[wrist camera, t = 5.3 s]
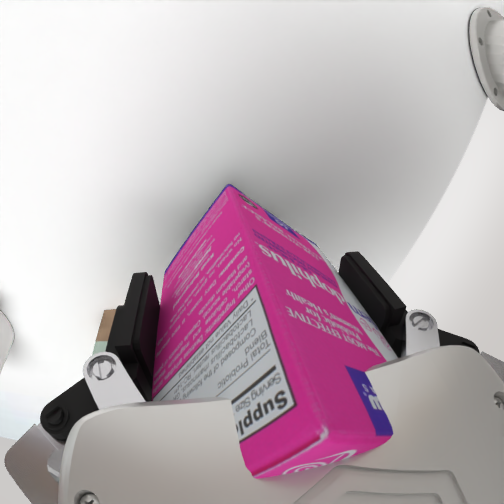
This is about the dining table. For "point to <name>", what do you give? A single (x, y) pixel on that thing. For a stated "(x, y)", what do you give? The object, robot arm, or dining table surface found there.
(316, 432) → the supplement box
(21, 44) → the dining table surface
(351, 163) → the dining table surface
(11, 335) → the mug
